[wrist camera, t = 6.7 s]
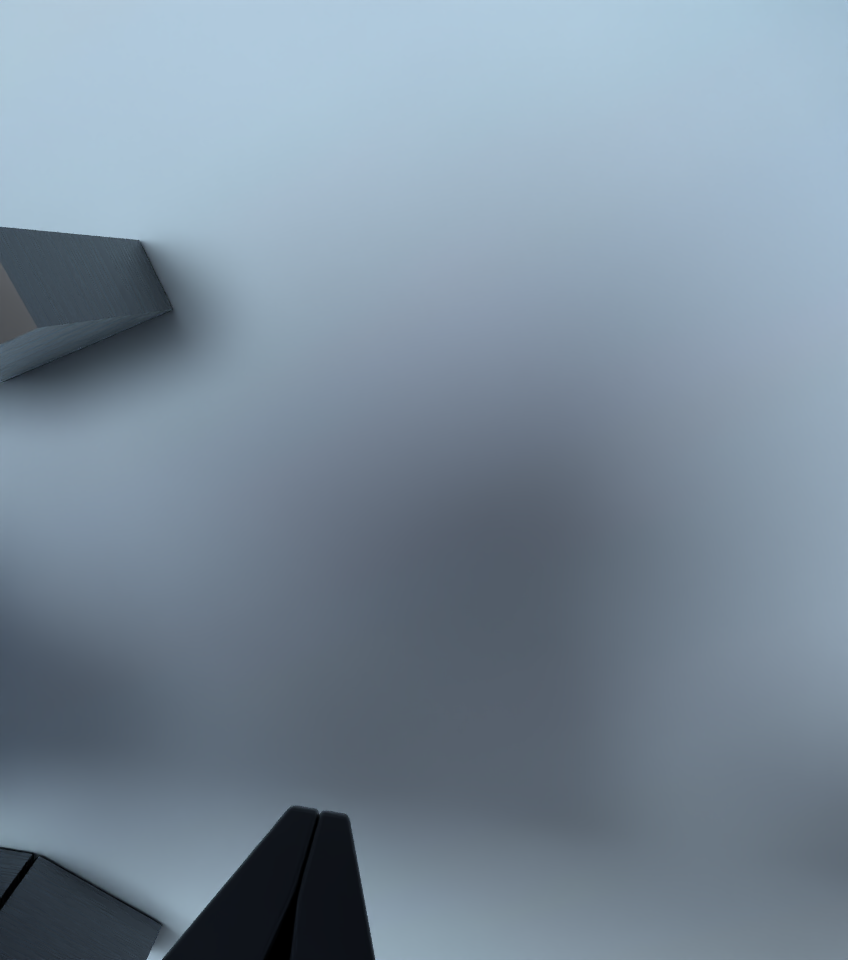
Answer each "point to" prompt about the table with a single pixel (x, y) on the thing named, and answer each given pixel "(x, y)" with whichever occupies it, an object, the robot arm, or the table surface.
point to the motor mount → (3, 355)
